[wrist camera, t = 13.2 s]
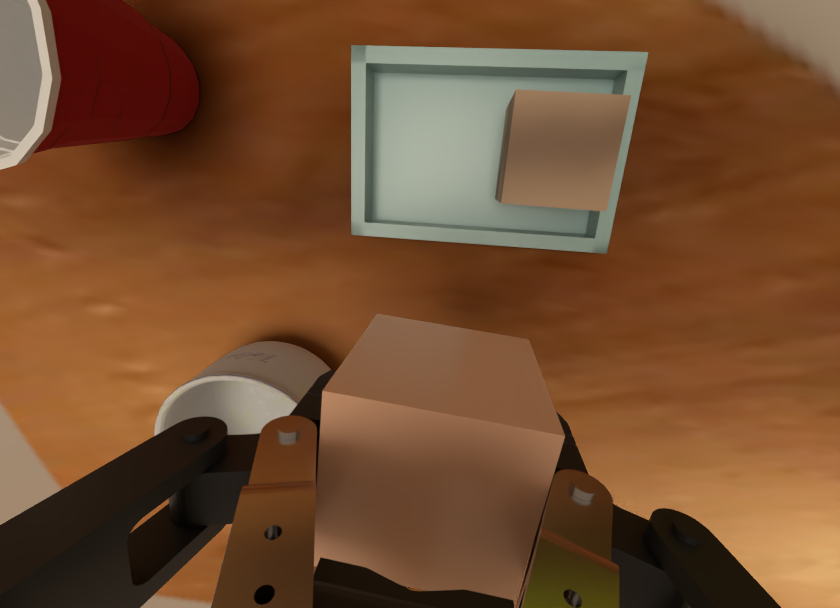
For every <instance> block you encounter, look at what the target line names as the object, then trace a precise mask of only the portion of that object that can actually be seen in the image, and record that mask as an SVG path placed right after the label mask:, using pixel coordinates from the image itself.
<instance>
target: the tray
mask: <svg viewBox="0 0 840 608" xmlns="http://www.w3.org/2000/svg"><path fill="white" fill-rule="evenodd" d="M647 56H648V52H618V51H575V50H532V49H489V48H446V47H403V46H360V45H351V235H362V236H375V237H389V238H402V239H416V240H430V241H443V242H457V243H470V244H484V245H497V246H511V247H524V248H538V249H552V250H565V251H579V252H592V253H606V254H607V250H608V245H609V240H610V235H611V230H612V225H613V221H614V216H615V211H616V206H617V201H618V196H619V192H620V187H621V182H622V177H623V172H624V167H625V163H626V158H627V153H628V148H629V143H630V138H631V134H632V129H633V124H634V119H635V114H636V109H637V105H638V100H639V95H640V90H641V85H642V80H643V76H644V71H645V66H646V61H647ZM516 89H518V90H538V91H557V92H577V93H597V94H617V95H631V99H630V104H629V108H628V113H627V118H626V122H625V127H624V132H623V136H622V141H621V146H620V150H619V155H618V159H617V164H616V169H615V173H614V178H613V183H612V187H611V192H610V197H609V201H608V206H607V211H593V210H581V209H568V208H555V207H542V206H529V205H517V204H504V203H500V202H499V201H497V200H496V199H495V194H496V186H497V178H498V170H499V162H500V154H501V146H502V138H503V131H504V123H505V115H506V108H507V106H508V104H509V102H510V100H511V98H512V96H513V94H514V92H515V90H516Z"/></svg>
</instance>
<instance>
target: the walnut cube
mask: <svg viewBox="0 0 840 608" xmlns="http://www.w3.org/2000/svg"><path fill="white" fill-rule="evenodd" d="M630 99H631V95H617V94H597V93H577V92H557V91H538V90H518V89H516V90H515V92H514V94H513V96H512V98H511V100H510V102H509V104H508V106H507V108H506V115H505V123H504V131H503V138H502V146H501V154H500V162H499V170H498V178H497V186H496V194H495V199H496V200H497V201H499V202H500V203H504V204H517V205H529V206H542V207H555V208H568V209H581V210H593V211H607V206H608V201H609V197H610V192H611V187H612V183H613V178H614V173H615V169H616V164H617V159H618V155H619V150H620V146H621V141H622V136H623V132H624V127H625V122H626V118H627V113H628V108H629V104H630Z"/></svg>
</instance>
